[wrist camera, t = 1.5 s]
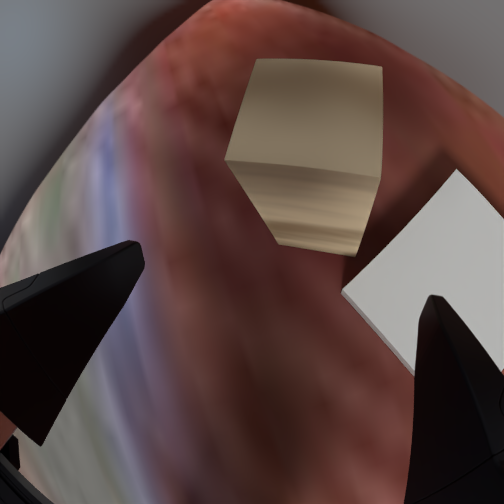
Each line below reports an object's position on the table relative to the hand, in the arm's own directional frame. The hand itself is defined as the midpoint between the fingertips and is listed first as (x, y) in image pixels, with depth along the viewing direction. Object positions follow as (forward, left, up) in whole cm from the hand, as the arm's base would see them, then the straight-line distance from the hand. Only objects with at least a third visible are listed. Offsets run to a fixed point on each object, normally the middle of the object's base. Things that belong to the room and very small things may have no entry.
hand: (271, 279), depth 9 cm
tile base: (-7, -8, -13) cm, 17 cm away
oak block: (+4, -5, -13) cm, 14 cm away
